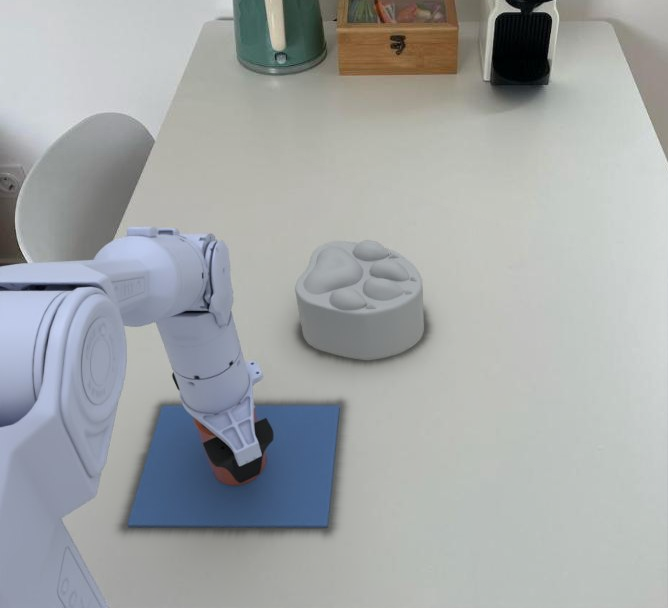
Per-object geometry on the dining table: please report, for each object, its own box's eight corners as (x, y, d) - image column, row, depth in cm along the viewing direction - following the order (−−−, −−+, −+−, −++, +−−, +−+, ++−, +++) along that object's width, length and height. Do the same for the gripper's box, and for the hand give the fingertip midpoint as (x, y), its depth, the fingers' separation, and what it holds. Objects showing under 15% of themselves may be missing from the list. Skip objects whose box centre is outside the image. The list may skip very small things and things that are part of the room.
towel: (339, 407, 82) (339, 405, 81) (327, 527, 72) (327, 525, 72) (163, 407, 82) (162, 405, 82) (128, 527, 73) (127, 524, 72)
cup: (243, 495, 74) (227, 445, 69) (199, 470, 76) (180, 420, 71) (278, 451, 78) (265, 400, 72) (235, 429, 80) (219, 378, 74)
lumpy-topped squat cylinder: (327, 280, 95) (320, 224, 89) (435, 300, 92) (434, 244, 86) (294, 346, 88) (283, 290, 82) (409, 370, 85) (406, 314, 79)
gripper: (285, 392, 63) (306, 486, 72) (220, 280, 72) (246, 376, 81) (198, 432, 60) (231, 524, 69) (143, 310, 70) (178, 405, 79)
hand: (234, 446), depth 75 cm, fingers open, 6 cm apart
